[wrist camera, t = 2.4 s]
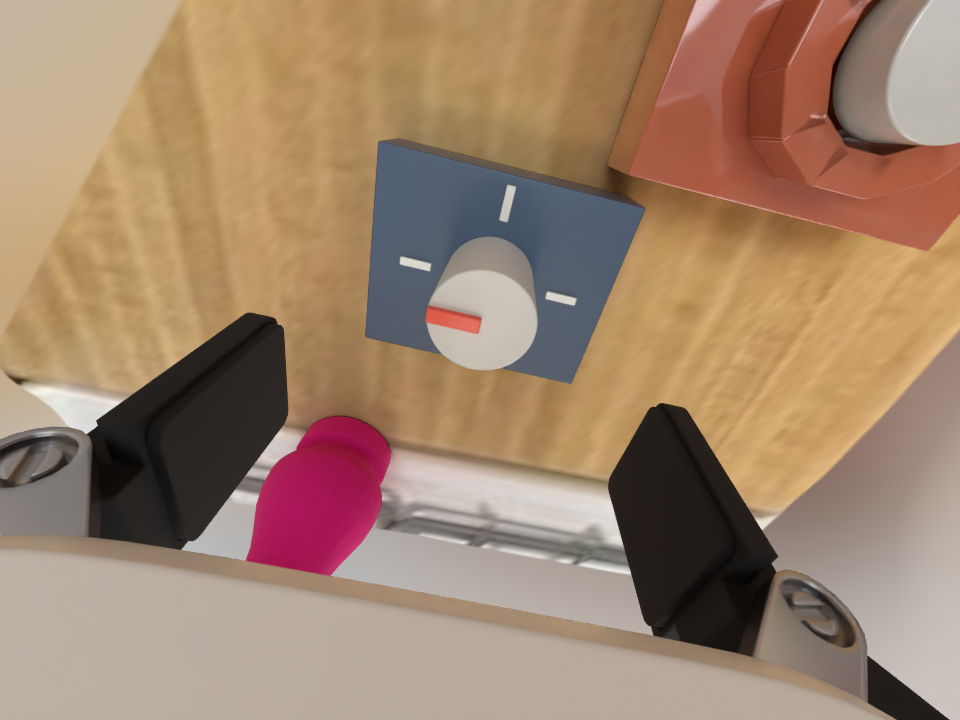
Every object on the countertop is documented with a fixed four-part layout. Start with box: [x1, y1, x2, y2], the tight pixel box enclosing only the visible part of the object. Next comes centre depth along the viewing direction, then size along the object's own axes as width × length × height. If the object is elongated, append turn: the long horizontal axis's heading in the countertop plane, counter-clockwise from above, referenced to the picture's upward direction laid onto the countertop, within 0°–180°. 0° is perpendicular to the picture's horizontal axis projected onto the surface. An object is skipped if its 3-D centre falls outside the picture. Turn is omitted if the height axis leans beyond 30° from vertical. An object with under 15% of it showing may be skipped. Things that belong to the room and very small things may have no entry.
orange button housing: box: [607, 0, 960, 251], centre depth 13 cm, size 12×9×6 cm
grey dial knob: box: [425, 237, 538, 370], centre depth 16 cm, size 4×4×5 cm
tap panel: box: [365, 138, 645, 384], centre depth 19 cm, size 11×9×3 cm
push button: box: [832, 0, 960, 146], centre depth 10 cm, size 4×4×2 cm
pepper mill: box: [246, 416, 390, 576], centre depth 20 cm, size 7×7×20 cm
